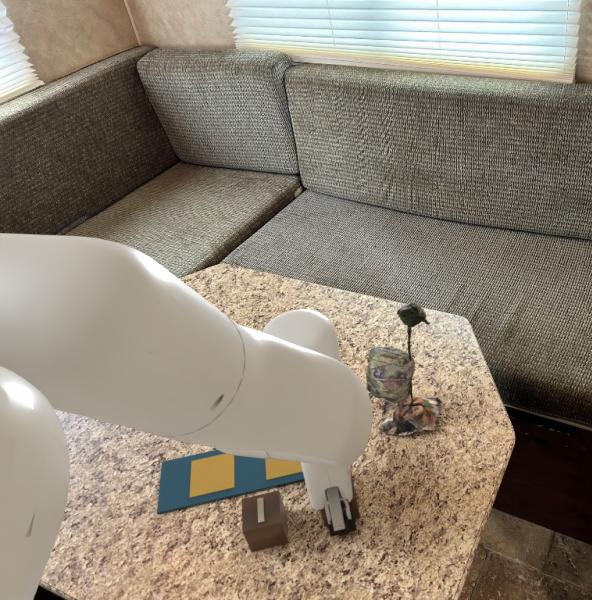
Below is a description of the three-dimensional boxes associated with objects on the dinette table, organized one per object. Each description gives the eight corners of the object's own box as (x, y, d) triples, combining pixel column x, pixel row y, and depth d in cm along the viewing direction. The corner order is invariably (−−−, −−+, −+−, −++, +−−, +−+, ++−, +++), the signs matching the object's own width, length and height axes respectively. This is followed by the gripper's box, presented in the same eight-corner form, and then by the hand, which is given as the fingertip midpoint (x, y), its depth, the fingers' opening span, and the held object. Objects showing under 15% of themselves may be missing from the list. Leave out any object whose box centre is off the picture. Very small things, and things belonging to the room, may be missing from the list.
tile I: (288, 543, 73) (280, 522, 70) (251, 552, 73) (241, 531, 70) (286, 510, 77) (278, 489, 74) (250, 518, 76) (241, 497, 73)
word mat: (342, 471, 81) (341, 469, 80) (157, 514, 78) (156, 512, 77) (334, 425, 87) (333, 423, 86) (162, 463, 84) (161, 461, 83)
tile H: (360, 518, 75) (355, 496, 72) (324, 526, 75) (318, 505, 72) (354, 487, 79) (349, 465, 76) (320, 495, 78) (314, 473, 75)
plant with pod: (376, 387, 92) (360, 284, 79) (449, 402, 88) (445, 296, 75) (356, 429, 86) (336, 325, 73) (433, 446, 83) (426, 341, 70)
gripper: (276, 363, 71) (303, 454, 82) (287, 489, 58) (317, 577, 69) (339, 350, 72) (357, 442, 83) (364, 472, 59) (381, 561, 70)
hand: (339, 502), depth 76 cm, fingers open, 7 cm apart
